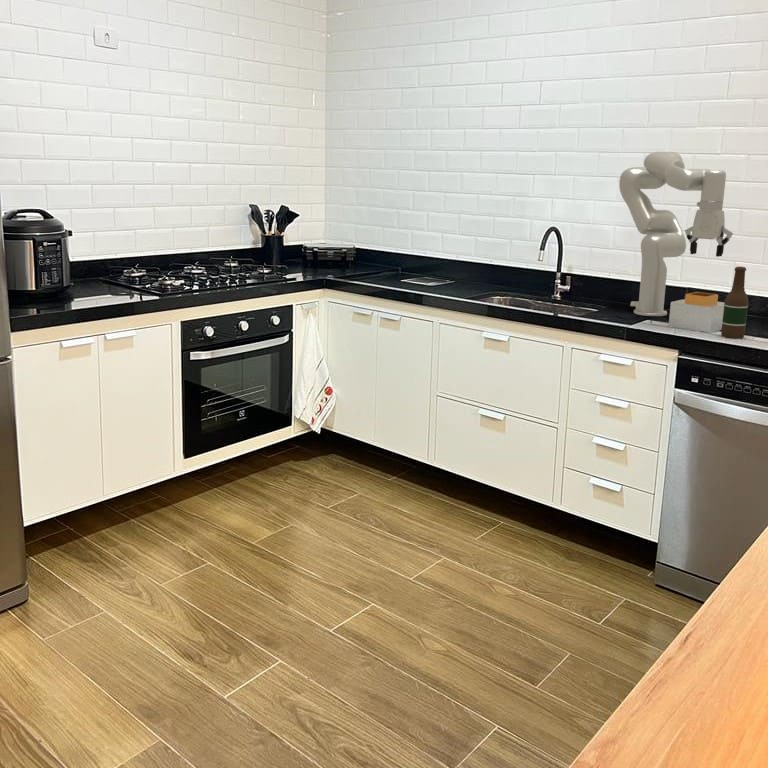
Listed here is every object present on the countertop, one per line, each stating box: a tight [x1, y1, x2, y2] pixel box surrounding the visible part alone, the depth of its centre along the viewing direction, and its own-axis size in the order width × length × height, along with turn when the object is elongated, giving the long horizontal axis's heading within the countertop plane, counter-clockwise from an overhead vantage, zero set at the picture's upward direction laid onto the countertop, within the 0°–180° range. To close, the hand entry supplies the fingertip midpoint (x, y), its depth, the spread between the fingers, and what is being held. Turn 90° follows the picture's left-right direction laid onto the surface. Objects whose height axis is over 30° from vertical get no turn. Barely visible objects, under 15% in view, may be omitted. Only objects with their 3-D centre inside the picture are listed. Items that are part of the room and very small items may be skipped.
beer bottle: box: [720, 266, 749, 339], centre depth 286 cm, size 8×8×24 cm
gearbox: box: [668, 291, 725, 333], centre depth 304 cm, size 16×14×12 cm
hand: (705, 255), depth 299 cm, fingers open, 9 cm apart
